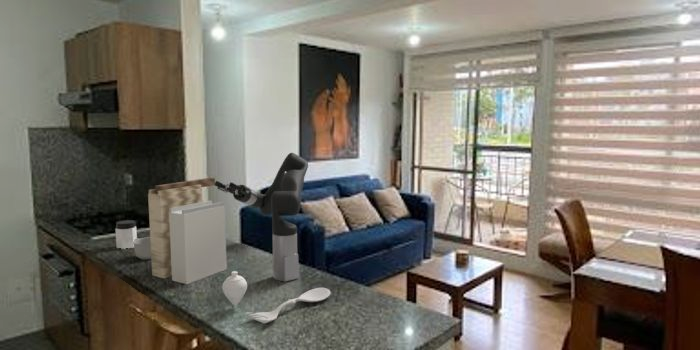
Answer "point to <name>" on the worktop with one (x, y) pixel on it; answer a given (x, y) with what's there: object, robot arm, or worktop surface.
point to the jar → (125, 234)
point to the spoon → (308, 296)
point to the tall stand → (166, 223)
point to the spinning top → (234, 288)
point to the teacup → (142, 248)
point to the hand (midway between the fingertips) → (222, 183)
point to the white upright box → (197, 241)
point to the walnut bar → (186, 184)
